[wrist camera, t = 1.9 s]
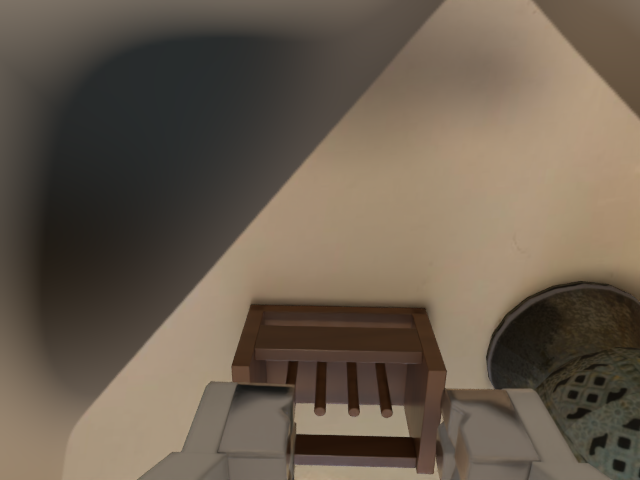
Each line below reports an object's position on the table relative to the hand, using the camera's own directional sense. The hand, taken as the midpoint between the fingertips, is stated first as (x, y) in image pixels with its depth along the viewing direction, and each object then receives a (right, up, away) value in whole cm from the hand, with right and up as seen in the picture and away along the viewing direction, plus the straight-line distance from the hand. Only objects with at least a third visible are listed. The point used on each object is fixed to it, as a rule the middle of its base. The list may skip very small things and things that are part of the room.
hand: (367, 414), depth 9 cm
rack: (+1, -6, +32) cm, 32 cm away
